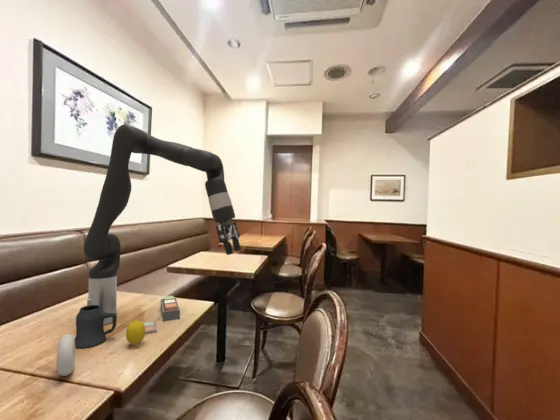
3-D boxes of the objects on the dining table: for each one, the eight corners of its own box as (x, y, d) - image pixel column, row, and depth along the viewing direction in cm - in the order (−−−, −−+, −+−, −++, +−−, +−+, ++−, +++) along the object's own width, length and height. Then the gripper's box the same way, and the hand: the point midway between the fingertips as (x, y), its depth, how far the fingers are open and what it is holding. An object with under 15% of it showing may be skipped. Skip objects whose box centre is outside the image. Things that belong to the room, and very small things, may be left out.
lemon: (137, 350, 88) (137, 324, 87) (121, 348, 89) (121, 322, 89) (148, 342, 93) (149, 317, 93) (134, 340, 94) (134, 316, 94)
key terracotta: (165, 313, 111) (165, 307, 111) (165, 310, 115) (165, 304, 115) (176, 312, 113) (176, 306, 113) (175, 309, 117) (175, 303, 117)
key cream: (164, 309, 116) (164, 303, 116) (164, 306, 120) (164, 300, 120) (175, 307, 118) (175, 302, 118) (174, 304, 122) (174, 299, 122)
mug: (67, 350, 87) (68, 313, 87) (78, 337, 95) (78, 304, 95) (112, 345, 90) (113, 310, 90) (118, 333, 99) (119, 301, 99)
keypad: (162, 321, 110) (162, 312, 110) (160, 307, 125) (160, 299, 125) (179, 318, 113) (179, 310, 113) (175, 305, 128) (175, 297, 128)
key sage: (164, 305, 121) (164, 299, 121) (163, 302, 125) (163, 296, 125) (174, 303, 123) (174, 298, 123) (173, 301, 126) (173, 295, 126)
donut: (60, 366, 78) (61, 330, 78) (75, 362, 80) (76, 327, 80) (55, 385, 70) (55, 345, 70) (72, 381, 72) (73, 341, 71)
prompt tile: (141, 334, 98) (141, 332, 98) (141, 324, 106) (141, 322, 106) (156, 332, 100) (156, 329, 100) (156, 322, 108) (156, 320, 108)
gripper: (219, 210, 107) (231, 252, 106) (203, 210, 93) (216, 258, 92) (237, 204, 106) (249, 246, 105) (224, 204, 92) (237, 252, 91)
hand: (234, 252), depth 99 cm, fingers open, 8 cm apart
